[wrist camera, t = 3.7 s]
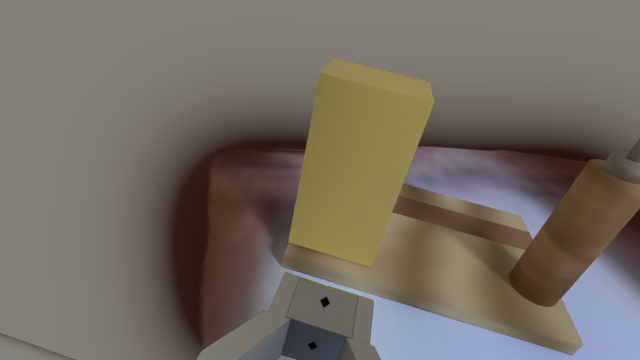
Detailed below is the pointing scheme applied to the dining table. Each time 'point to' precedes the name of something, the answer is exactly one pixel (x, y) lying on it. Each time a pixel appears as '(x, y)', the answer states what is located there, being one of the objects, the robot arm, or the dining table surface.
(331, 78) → the block
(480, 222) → the plywood panel
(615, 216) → the awl
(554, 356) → the dining table surface
